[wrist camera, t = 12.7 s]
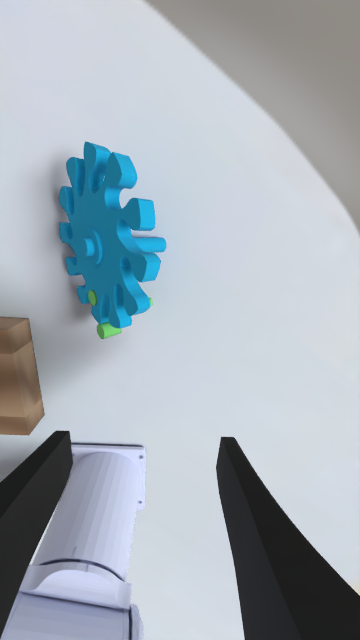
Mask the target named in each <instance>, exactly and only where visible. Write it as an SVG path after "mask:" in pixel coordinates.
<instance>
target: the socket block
mask: <svg viewBox="0 0 360 640" xmlns="http://www.w3.org/2000/svg"><path fill="white" fill-rule="evenodd" d="M43 416H44V409H43V403H42V397H41V391H40V385H39V379H38V373H37V367H36V361H35V355H34V349H33V343H32V337H31V331H30V325H29V319H28V318H11V317H0V434H5V435H30V433H31V432H32V431H33V429H34V428H35V427H36V425H37V424H38V423H39V421H40V420H41V419H42V417H43Z"/></svg>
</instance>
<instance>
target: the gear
mask: <svg viewBox="0 0 360 640" xmlns="http://www.w3.org/2000/svg"><path fill="white" fill-rule="evenodd" d="M66 166H67V173H68V176H69V179H70V181H71V185H72V187H65V186H62V188H61V190H60V194H59V202H60V205H61V207H62V208H63V209H64V210H65V212H66V214H67V216H68V218H69V221H70V223H60V238H61V240H62V242H66V243H68V244H69V245H70V246H71V248H72V249H73V251H74V253H75V255H76V257H67V258H66V265H67V270H68V274H69V275H70V276H72V275H81V274H82V275H83V277H84V279H85V285H84V286H78V287H77V294H78V296H79V299H80V301H81V303H82V304H86V303H91V304H92V305H93V307H92V315H93V317H94V318H95V320H96V321H97V322H98V323H99V324H98V325H97V332H98V335H99V337H100V338H101V339H104V338H107V337H110V336H113V335H116V334H119V333H121V328H123V327H127V326H130V325H131V324H132V319H131V316H132V315H136V314H139V313H143V312H145V311H146V310H148V309H149V308H150V306H152V300H151V298H148V296H147V295H146V294H145V293H144V292H143V290H142V289H141V287H140V286H139V284H138V281H139V282H146V281H152V280H155V279H156V277H157V275H158V272H159V268H160V263H161V261H160V258H159V257H158V256H157V255H156V254H154V252H164V251H165V249H166V241H165V239H164V238H132V235H131V229H132V230H138V231H151V230H153V229H154V228H155V211H154V204H153V201H151V200H146V199H139V198H132V199H130V200H129V202H128V203H127V205H126V206H125V207H124V208H123V209H122V208H121V206H120V203H119V195H120V192H121V190H122V189H123V188H128V189H131V188H133V187H134V185H135V184H136V181H137V173H136V170H135V167H134V165H133V163H132V161H131V159H130V158H129V156H125V155H122V154H118V153H115V152H112V153H111V152H110V151H109V150H108V149H107V148H105V147H103V146H99V145H96V144H92V143H89V142H85V144H84V159H79V158H75V157H71V158H70V159H69V160H68V161H67V162H66ZM104 176H105V178H104ZM103 179H104V181H103ZM137 280H138V281H137Z"/></svg>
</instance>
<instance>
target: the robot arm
mask: <svg viewBox="0 0 360 640" xmlns="http://www.w3.org/2000/svg"><path fill="white" fill-rule="evenodd" d="M145 468H146V449H145V448H143V447H130V446H101V445H71V440H70V432H69V431H55V432H54V433H53V434H52V435H51V436H50V437H49V438H48V439H47V440H46V441H45V442H44V443H42V444H41V445H40V446H39V447H38V448H37V449H36V450H35V451H34V452H33V453H32V454H31V455H30V456H29V457H28V458H27V459H26V460H25V461H24V462H22V463H21V464H20V465H19V466H18V467H17V468H16V469H15V470H14V471H13V472H12V473H11V474H9V475H8V476H7V477H6V478H5V479H4V480H3V481H1V482H0V640H144V628H143V623H142V620H141V617H140V614H139V610H138V607H137V606H136V605H134V604H130V600H131V592H132V584H130V583H126V580H127V573H128V566H129V560H130V553H131V546H132V539H133V532H134V525H135V518H136V511H137V510H139V511H140V510H143V509H144V506H145ZM216 471H217V480H218V488H219V494H220V499H221V504H222V509H223V513H224V518H225V523H226V527H227V532H228V537H229V541H230V546H231V550H232V555H233V561H234V566H235V572H236V579H237V586H238V593H239V600H240V607H241V614H242V622H243V629H244V637H245V640H360V596H359V595H358V594H357V593H356V592H355V591H354V590H353V589H352V588H351V587H350V586H349V585H348V584H347V583H346V582H345V581H344V579H343V578H342V577H341V576H340V575H339V574H338V573H337V572H336V571H335V570H334V569H333V568H332V567H331V566H330V564H329V563H328V562H327V561H326V560H325V559H324V558H323V557H322V556H321V555H320V554H319V553H318V552H317V551H316V549H315V548H314V547H313V546H312V545H311V544H310V543H309V541H308V540H307V539H306V538H305V537H304V536H303V534H302V533H301V532H300V531H299V530H298V528H297V527H296V526H295V525H294V524H293V522H292V521H291V520H290V519H289V517H288V516H287V515H286V514H285V512H284V511H283V510H282V508H281V507H280V506H279V504H278V503H277V502H276V500H275V499H274V498H273V496H272V495H271V494H270V492H269V491H268V489H267V488H266V487H265V485H264V484H263V482H262V481H261V479H260V478H259V476H258V475H257V473H256V472H255V470H254V469H253V467H252V466H251V464H250V462H249V461H248V459H247V458H246V456H245V454H244V453H243V451H242V449H241V448H240V446H239V444H238V442H237V441H236V439H235V438H234V437H221V442H220V447H219V453H218V459H217V465H216ZM69 474H70V479H69V481H68V484H67V486H66V488H65V485H66V483H67V480H68V477H69ZM64 488H65V491H64V493H63V495H62V492H63V490H64ZM61 495H62V497H61ZM60 497H61V500H60V502H59V504H58V506H57V509H56V511H55V513H54V516H53V518H52V520H51V522H50V525H49V527H48V529H47V531H46V534H45V536H44V538H43V541H42V543H41V545H40V547H39V550H38V552H37V554H36V556H35V559H34V561H33V563H32V565H29V563H30V561H31V559H32V557H33V554H34V552H35V550H36V548H37V546H38V543H39V541H40V539H41V537H42V535H43V533H44V531H45V529H46V527H47V524H48V522H49V520H50V518H51V516H52V514H53V512H54V510H55V507H56V505H57V503H58V501H59V499H60Z"/></svg>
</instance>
